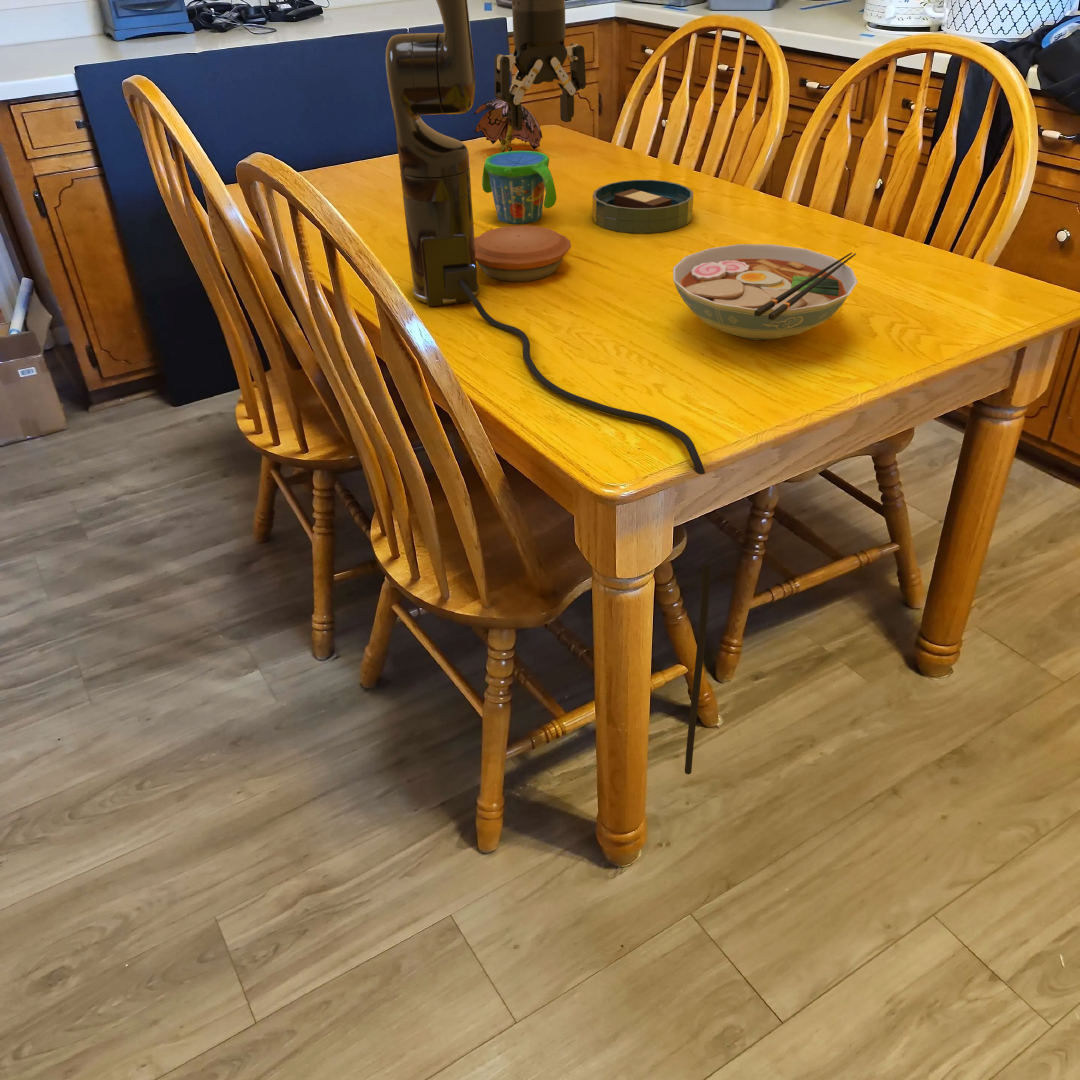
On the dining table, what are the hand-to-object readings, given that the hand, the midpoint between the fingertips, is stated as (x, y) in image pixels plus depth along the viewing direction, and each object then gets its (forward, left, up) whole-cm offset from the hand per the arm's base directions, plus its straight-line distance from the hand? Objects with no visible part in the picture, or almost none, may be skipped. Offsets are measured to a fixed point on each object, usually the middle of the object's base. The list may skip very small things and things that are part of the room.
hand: (541, 125), depth 144 cm
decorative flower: (+56, -4, -18) cm, 58 cm away
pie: (-12, +6, -18) cm, 22 cm away
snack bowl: (+5, -18, -17) cm, 25 cm away
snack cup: (+11, +2, -18) cm, 20 cm away
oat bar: (+5, -18, -17) cm, 25 cm away
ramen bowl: (-42, -20, -18) cm, 50 cm away
